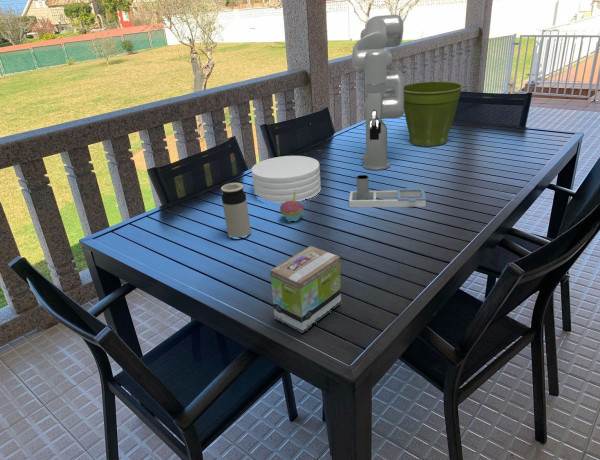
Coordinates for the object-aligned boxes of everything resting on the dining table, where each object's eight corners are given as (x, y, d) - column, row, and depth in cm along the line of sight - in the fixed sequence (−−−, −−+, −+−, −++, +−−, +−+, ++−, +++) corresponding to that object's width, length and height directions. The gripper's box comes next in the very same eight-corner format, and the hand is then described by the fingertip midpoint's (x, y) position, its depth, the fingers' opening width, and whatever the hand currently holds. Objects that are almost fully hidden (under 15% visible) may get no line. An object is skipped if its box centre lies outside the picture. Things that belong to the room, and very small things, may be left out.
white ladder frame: (350, 195, 178) (350, 188, 176) (422, 194, 173) (423, 187, 172) (349, 208, 166) (348, 201, 165) (426, 208, 162) (426, 200, 160)
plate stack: (330, 183, 193) (329, 157, 188) (304, 208, 170) (302, 180, 165) (274, 178, 204) (271, 154, 199) (242, 201, 182) (238, 174, 177)
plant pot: (398, 136, 251) (399, 83, 238) (452, 133, 246) (456, 80, 234) (401, 151, 225) (403, 93, 212) (462, 149, 220) (467, 89, 207)
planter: (355, 200, 173) (355, 175, 169) (367, 199, 173) (367, 174, 169) (358, 204, 169) (357, 179, 165) (370, 203, 169) (369, 178, 165)
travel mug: (241, 242, 149) (233, 192, 141) (223, 237, 153) (215, 189, 145) (255, 232, 155) (249, 184, 147) (238, 228, 159) (230, 181, 151)
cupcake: (307, 215, 164) (305, 185, 158) (299, 225, 157) (297, 194, 151) (285, 214, 167) (282, 184, 161) (277, 223, 159) (274, 193, 154)
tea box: (304, 336, 104) (299, 283, 97) (274, 320, 110) (267, 269, 103) (342, 304, 113) (340, 254, 107) (312, 291, 120) (309, 243, 113)
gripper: (367, 85, 165) (367, 131, 172) (362, 92, 150) (362, 142, 157) (387, 84, 163) (387, 131, 170) (384, 91, 148) (384, 142, 155)
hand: (375, 136), depth 164 cm, fingers open, 9 cm apart
